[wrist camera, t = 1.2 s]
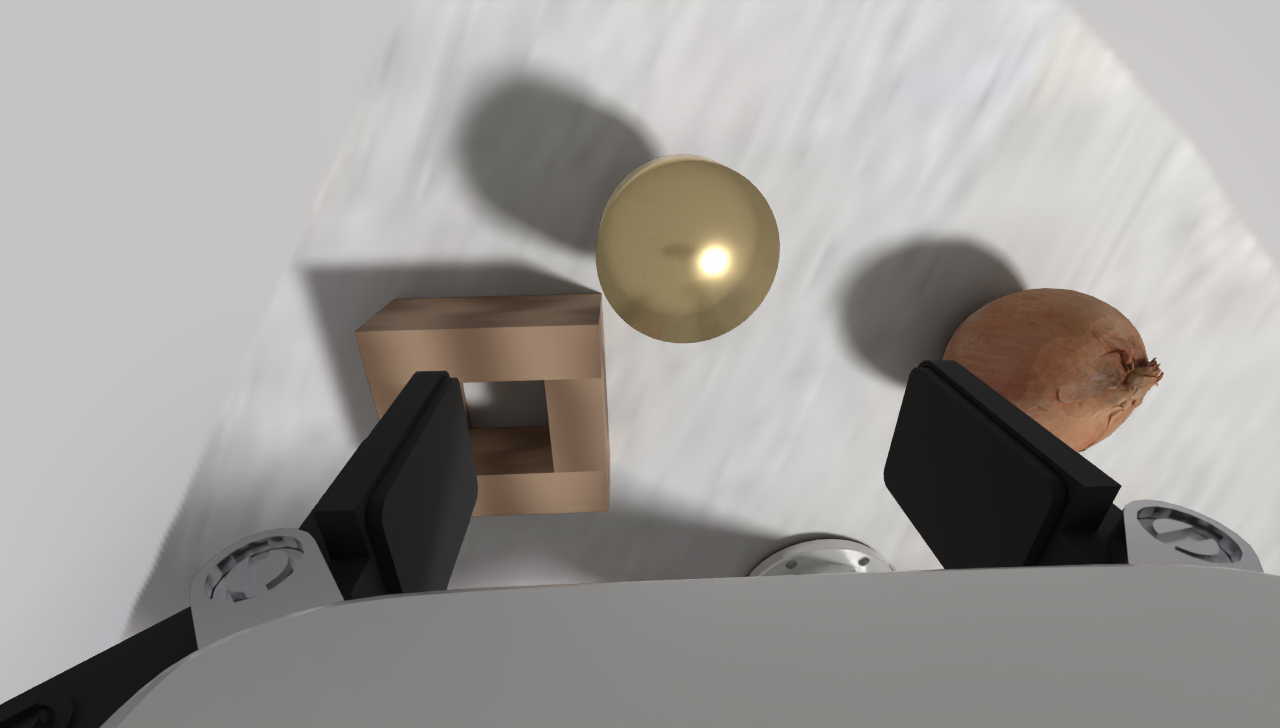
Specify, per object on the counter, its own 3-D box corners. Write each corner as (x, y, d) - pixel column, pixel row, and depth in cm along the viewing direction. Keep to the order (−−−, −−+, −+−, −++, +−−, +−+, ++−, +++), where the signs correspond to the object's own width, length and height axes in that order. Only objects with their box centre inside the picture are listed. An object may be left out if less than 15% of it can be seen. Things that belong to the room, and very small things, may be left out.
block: (601, 293, 30) (598, 324, 26) (610, 460, 35) (608, 511, 31) (394, 299, 30) (354, 331, 25) (433, 467, 35) (406, 519, 31)
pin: (743, 146, 27) (789, 158, 20) (733, 286, 30) (770, 340, 23) (598, 149, 27) (590, 162, 20) (604, 289, 30) (600, 345, 23)
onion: (997, 278, 34) (1204, 262, 25) (1012, 412, 36) (1213, 446, 26) (886, 313, 31) (1074, 311, 22) (909, 458, 33) (1093, 514, 23)
